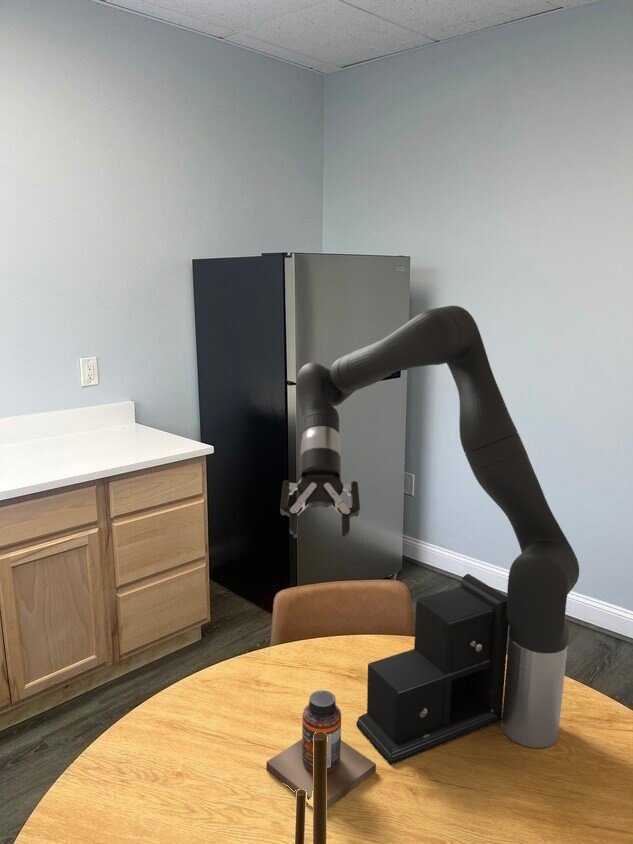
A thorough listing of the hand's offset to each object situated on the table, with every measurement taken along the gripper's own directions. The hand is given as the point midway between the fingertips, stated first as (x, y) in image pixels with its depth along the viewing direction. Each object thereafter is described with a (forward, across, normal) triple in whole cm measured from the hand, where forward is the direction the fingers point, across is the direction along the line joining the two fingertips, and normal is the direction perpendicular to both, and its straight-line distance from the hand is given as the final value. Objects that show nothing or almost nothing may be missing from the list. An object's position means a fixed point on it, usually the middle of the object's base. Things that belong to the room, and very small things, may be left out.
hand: (319, 536), depth 117 cm
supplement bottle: (+35, +1, +6) cm, 36 cm away
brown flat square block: (+36, +1, +7) cm, 37 cm away
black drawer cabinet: (+28, +19, +15) cm, 37 cm away
